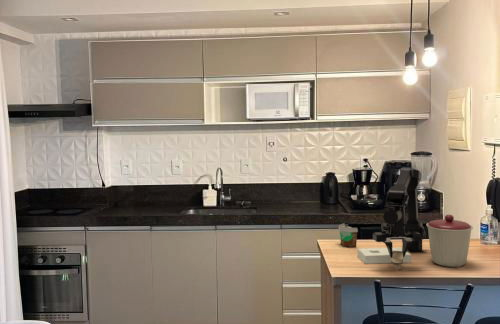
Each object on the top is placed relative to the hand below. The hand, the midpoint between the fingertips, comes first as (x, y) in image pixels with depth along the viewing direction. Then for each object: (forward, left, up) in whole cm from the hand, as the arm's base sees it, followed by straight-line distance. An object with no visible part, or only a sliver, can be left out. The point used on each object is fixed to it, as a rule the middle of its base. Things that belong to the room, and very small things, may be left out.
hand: (397, 257), depth 185 cm
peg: (0, 0, -5) cm, 5 cm away
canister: (-24, -5, -5) cm, 25 cm away
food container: (+12, -39, -5) cm, 41 cm away
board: (+1, -14, -5) cm, 15 cm away
